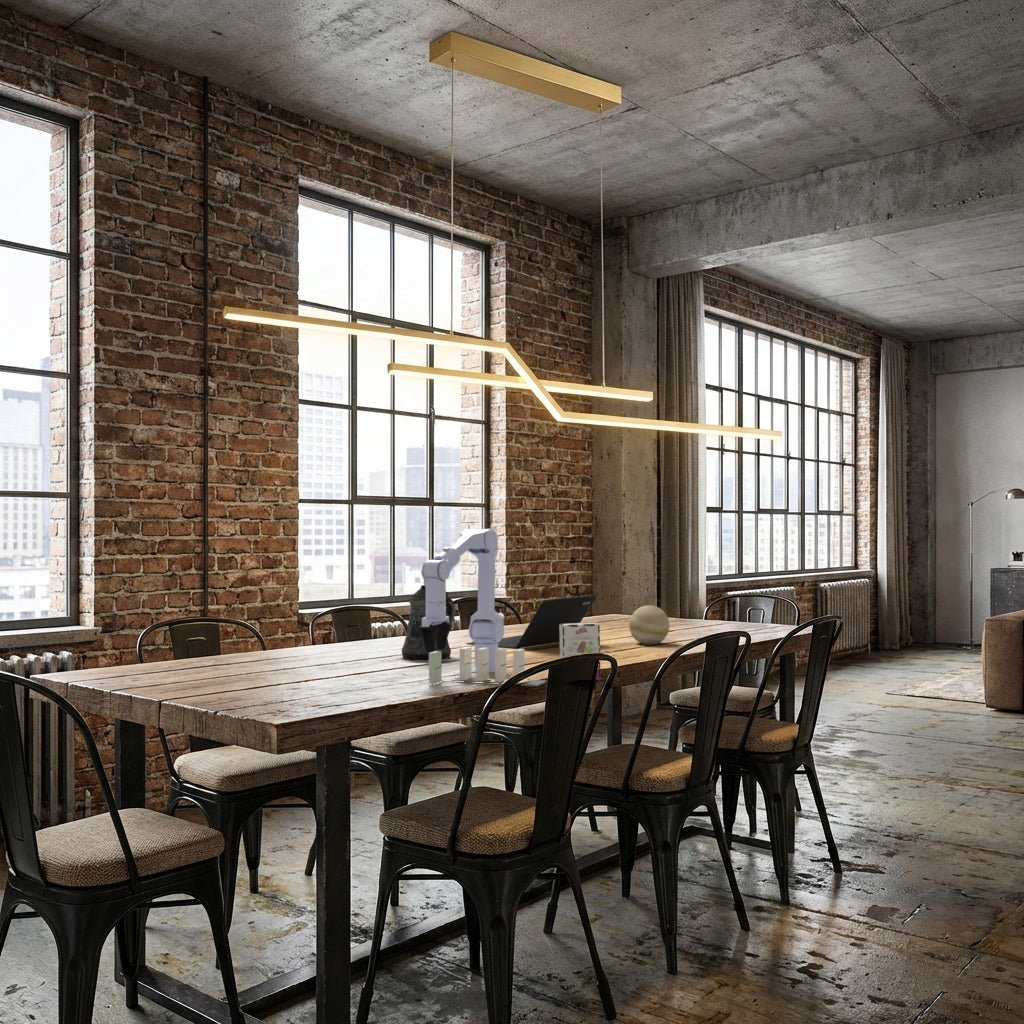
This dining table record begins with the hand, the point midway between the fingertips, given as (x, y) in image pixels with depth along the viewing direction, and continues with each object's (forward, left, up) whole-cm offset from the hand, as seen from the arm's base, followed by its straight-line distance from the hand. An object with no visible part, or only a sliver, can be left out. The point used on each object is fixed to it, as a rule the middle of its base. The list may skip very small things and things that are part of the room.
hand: (435, 650), depth 293 cm
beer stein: (-56, -2, -10) cm, 57 cm away
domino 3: (-1, +19, -9) cm, 21 cm away
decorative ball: (-90, +81, -10) cm, 121 cm away
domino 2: (-4, +14, -9) cm, 17 cm away
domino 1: (-6, +9, -9) cm, 14 cm away
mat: (-4, +14, -9) cm, 17 cm away
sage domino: (0, 0, -10) cm, 10 cm away
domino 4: (+1, +24, -9) cm, 25 cm away
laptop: (-93, +36, -10) cm, 100 cm away
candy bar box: (-3, +42, -10) cm, 43 cm away
